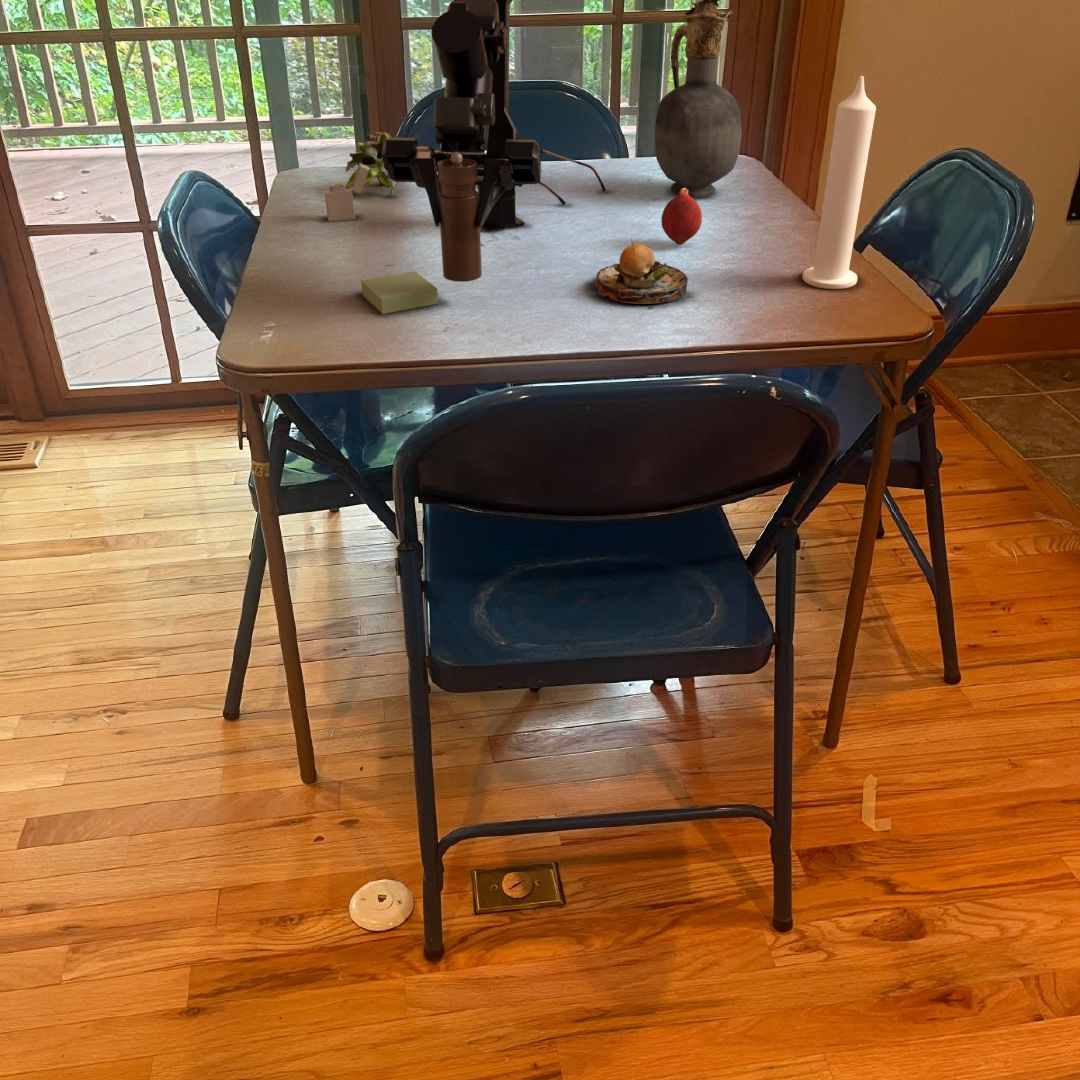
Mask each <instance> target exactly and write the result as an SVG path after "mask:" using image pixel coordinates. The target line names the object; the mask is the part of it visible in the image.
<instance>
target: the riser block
mask: <svg viewBox="0 0 1080 1080" xmlns="http://www.w3.org/2000/svg"><path fill="white" fill-rule="evenodd" d="M360 283H361V292H362V296H363V297H364V298H365V299H366V300H367V301H368V302H369V303H371V305H372V306H373V307H374V308H375V309H376V310H378V311H379V312H380V314H382V315H386V314H391V313H396V312H401V311H407V310H412V309H417V308H418V309H419V308H423V307H427V306H433V305H438V304H439V294H438V293H439V291H438V288H437V287H436V286H435V285H433V284H432V283H431V282H430V281H428V280H427V279H426V278H425V277H423V276H422V274H420V273H418V272H417V271H415V270H413V271H408V272H402V273H397V274H391V275H384V276H379V277H373V278H367V279H362V280H361V281H360Z"/></svg>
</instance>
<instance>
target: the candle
mask: <svg viewBox="0 0 1080 1080" xmlns="http://www.w3.org/2000/svg"><path fill="white" fill-rule="evenodd" d="M876 112H877V106H876V104H874V103H873V102H872V101H871V99H870V98H869V97H867V94H866V90H865V76H863V75H859V77H858V79H857V82H856V84H855V87H854V90H853V91H852V93H851V94H850V95H849V96H848V97H846V99H844V100H843V101H841V102H840V103H838V104H837V108H836V115H835V121H834V129H833V134H832V136H833V137H832V142H831V148H830V156H829V161H828V168H827V169H828V170H827V176H826V182H825V188H824V194H823V195H824V196H823V202H822V210H821V215H820V223H819V227H818V228H819V229H818V237H817V242H816V243H817V244H816V250H815V257H814V263H813V266H812V267H808V268H806V269H804V270H803V272H802V277H801V278H802V281H804V283H806V284H808V285H809V286H811V287H815V288H820V289H826V290H843V289H848V288H849V289H850V288H852V287H854V286H855V285H856V284H857V283H858V275H857V273H855V272H854V271H852V270H850V264H851V260H852V252H853V247H854V242H855V236H856V230H857V223H858V217H859V212H860V205H861V201H862V194H863V189H864V182H865V177H866V171H867V164H868V159H869V153H870V147H871V142H872V135H873V130H874V124H875V119H876V118H875V116H876Z"/></svg>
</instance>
